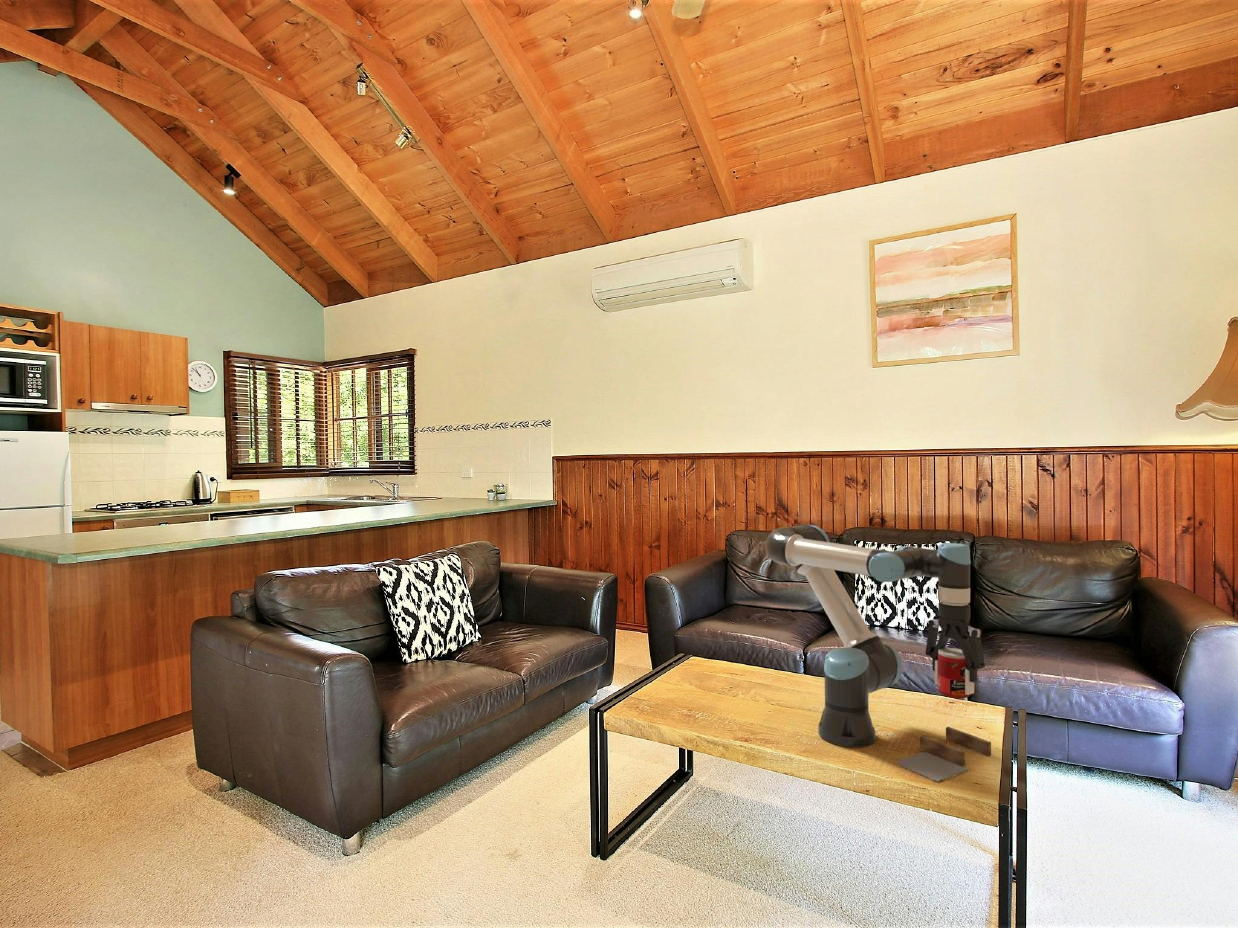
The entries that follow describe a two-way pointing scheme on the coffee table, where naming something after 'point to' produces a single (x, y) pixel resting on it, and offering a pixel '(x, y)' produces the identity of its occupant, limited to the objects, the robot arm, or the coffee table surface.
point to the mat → (931, 766)
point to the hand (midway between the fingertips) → (954, 688)
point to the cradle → (954, 753)
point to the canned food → (951, 672)
